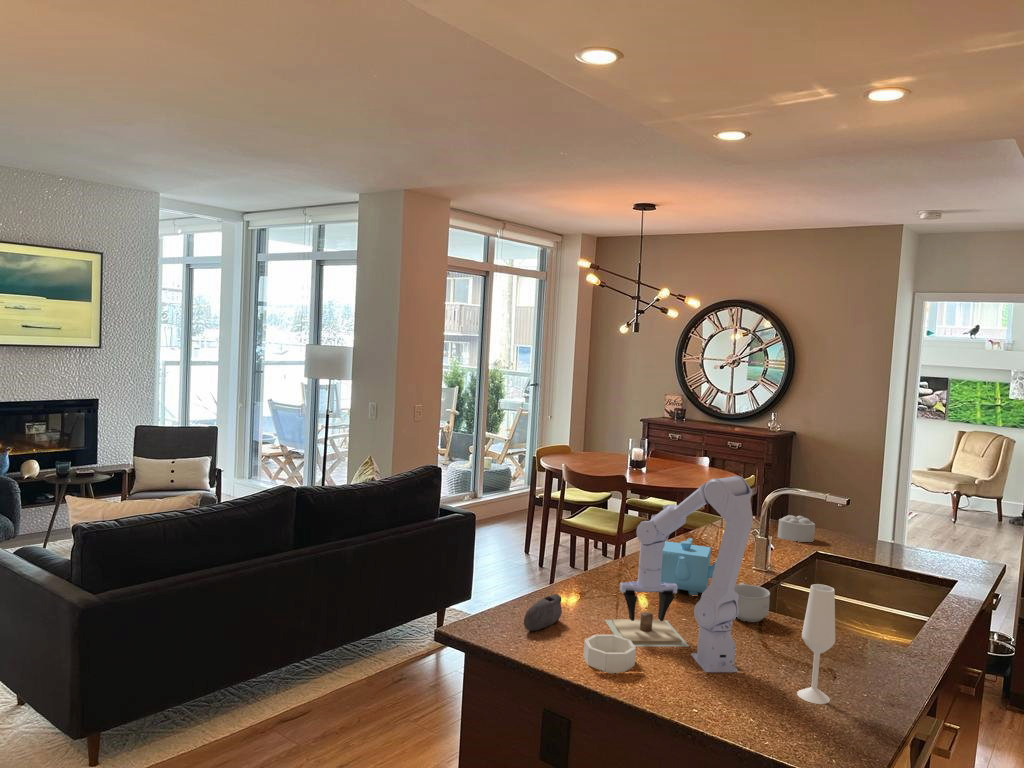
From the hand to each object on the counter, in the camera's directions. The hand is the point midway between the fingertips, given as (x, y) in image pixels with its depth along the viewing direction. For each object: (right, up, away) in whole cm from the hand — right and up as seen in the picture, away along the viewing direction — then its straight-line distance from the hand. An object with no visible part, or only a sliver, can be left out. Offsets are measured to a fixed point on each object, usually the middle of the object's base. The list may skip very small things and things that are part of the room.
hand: (646, 619), depth 198 cm
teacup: (+31, -5, +17) cm, 36 cm away
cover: (0, -3, 0) cm, 3 cm away
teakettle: (+18, -3, +37) cm, 41 cm away
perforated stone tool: (-27, -3, +2) cm, 27 cm away
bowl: (-12, -4, -19) cm, 22 cm away
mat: (0, -4, 0) cm, 4 cm away
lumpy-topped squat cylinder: (+77, -1, +107) cm, 132 cm away
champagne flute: (+31, -8, -30) cm, 44 cm away
